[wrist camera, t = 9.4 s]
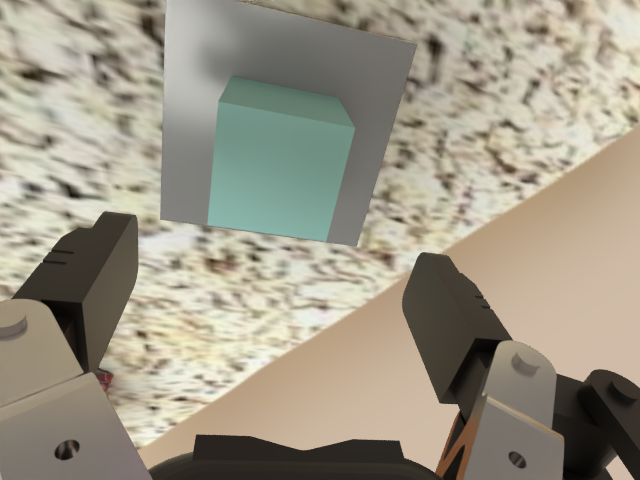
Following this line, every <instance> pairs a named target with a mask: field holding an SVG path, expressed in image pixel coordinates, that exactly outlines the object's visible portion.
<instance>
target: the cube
mask: <svg viewBox="0 0 640 480" xmlns="http://www.w3.org/2000/svg"><path fill="white" fill-rule="evenodd" d="M354 131H355V126H354V125H353V123H352V121H351V119H350V118H349V116H348V114H347V112H346V111H345V109H344V107H343V106H342V104H341V102H340V100H339V99H338V98H336V97H331V96H326V95H321V94H316V93H312V92H307V91H302V90H297V89H292V88H287V87H282V86H277V85H273V84H268V83H263V82H258V81H253V80H248V79H243V78H238V77H234V76H231V78H230V80H229V82H228V84H227V86H226V88H225V90H224V92H223V93H222V95H221V97H220V99H219V101H218V112H217V123H216V134H215V145H214V156H213V168H212V179H211V190H210V201H209V212H208V223H207V225H210V226H217V227H224V228H231V229H239V230H246V231H253V232H260V233H268V234H275V235H282V236H290V237H297V238H304V239H311V240H319V241H326V240H327V236H328V233H329V229H330V225H331V221H332V217H333V213H334V209H335V205H336V201H337V198H338V194H339V190H340V186H341V182H342V178H343V174H344V170H345V166H346V163H347V159H348V155H349V151H350V147H351V143H352V139H353V135H354Z"/></svg>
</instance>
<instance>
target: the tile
mask: <svg viewBox="0 0 640 480" xmlns="http://www.w3.org/2000/svg"><path fill="white" fill-rule="evenodd" d="M416 47H417V44H416V43H413V42H411V41H406V40H402V39H398V38H394V37H390V36H385V35H381V34H377V33H373V32H369V31H364V30H360V29H356V28H352V27H348V26H343V25H339V24H335V23H331V22H327V21H322V20H318V19H314V18H310V17H306V16H301V15H297V14H293V13H289V12H285V11H280V10H276V9H272V8H268V7H264V6H259V5H255V4H251V3H247V2H243V1H238V0H166V12H165V53H164V93H163V134H162V174H161V215H160V220H167V221H175V222H182V223H189V224H197V225H204V226H210V225H207V223H208V212H209V201H210V190H211V179H212V168H213V156H214V145H215V134H216V123H217V112H218V101H219V99H220V97H221V95H222V93H223V92H224V90H225V88H226V86H227V84H228V82H229V80H230V78H231V76H234V77H238V78H243V79H248V80H253V81H258V82H263V83H268V84H273V85H277V86H282V87H287V88H292V89H297V90H302V91H307V92H312V93H316V94H321V95H326V96H331V97H336V98H338V99H339V100H340V102H341V104H342V106H343V107H344V109H345V111H346V112H347V114H348V116H349V118H350V119H351V121H352V123H353V125H354V126H355V131H354V135H353V139H352V143H351V147H350V151H349V155H348V159H347V163H346V166H345V170H344V174H343V178H342V182H341V186H340V190H339V194H338V198H337V201H336V205H335V209H334V213H333V217H332V221H331V225H330V229H329V233H328V236H327V240H326V241H321V242H328V243H335V244H343V245H350V246H357V243H358V240H359V236H360V233H361V230H362V226H363V223H364V220H365V217H366V213H367V210H368V207H369V203H370V200H371V197H372V193H373V190H374V187H375V183H376V180H377V177H378V173H379V170H380V167H381V163H382V160H383V157H384V153H385V150H386V147H387V143H388V140H389V137H390V133H391V130H392V127H393V123H394V120H395V117H396V113H397V110H398V107H399V103H400V100H401V97H402V93H403V90H404V87H405V83H406V80H407V77H408V73H409V70H410V67H411V63H412V60H413V57H414V54H415V50H416ZM211 227H217V226H211ZM218 228H224V227H218ZM226 229H231V228H226ZM233 230H239V229H233ZM240 231H246V230H240ZM248 232H253V231H248ZM255 233H260V232H255ZM262 234H268V233H262ZM270 235H275V234H270ZM277 236H282V235H277ZM284 237H290V236H284ZM292 238H297V237H292ZM299 239H304V238H299ZM306 240H311V239H306ZM313 241H319V240H313Z"/></svg>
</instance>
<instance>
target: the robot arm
mask: <svg viewBox="0 0 640 480" xmlns="http://www.w3.org/2000/svg"><path fill="white" fill-rule="evenodd" d="M137 273H138V222H137V217H136V215H131V214H123V213H115V212H107V211H105V212H103V213H102V215H101V216H100V217H99V219H98V220H97V222H96V223H95V224H94V226H93V227H92V228H91V229H89V228H81V227H79V228H77V229H76V230H74V231H72V232H70V233H68V234H66V235H65V236H63V237H61V239H60V240H59V241H58V242H57V243H56V245H55V246H54V247H53V248H52V251H51V252H49V253H48V255H47V256H46V257H45V258H44V259H43V263H40V264H39V266H38V267H37V268H36V269H35V271H34V272H33V273H32V274H31V275H30V277H29V278H28V279H27V280H26V282H25V283H24V284H23V285H22V287H21V288H20V289H19V290H18V291H17V293H16V294H15V295H14V296H13V298H12V299H11V300H5V301H0V473H1V477H2V480H613V479H612V477H611V476H610V474H609V473H608V471H607V470H606V468H605V467H606V466H607V465H608V464H609V463H610V462H611V461H612V460H613V459H614V458H615V457H616V456H617V455H618V456H619V458H620V459H621V460H622V462H623V464H624V465H625V466H626V468H627V469H628V471H629V472H630V474H631V475H632V477H633V478H634V480H640V388H639V387H638V386H636V385H635V384H634V383H632V382H631V381H630V380H628V379H626V378H624V377H623V376H621V375H619V374H616V373H614V372H611V371H608V370H601V369H598V370H594V371H592V372H591V373H590V375H589V376H588V377H587V379H586V380H585V381H584V382H581V381H578V380H575V379H572V378H569V377H566V376H562V375H560V374H556V371H555V369H554V367H553V365H552V364H551V363H550V361H549V360H548V359H547V358H546V357H545V356H544V355H542V354H541V353H540V352H539V351H537V350H536V349H534V348H532V347H530V346H528V345H526V344H524V343H521V342H517V341H513V340H512V338H511V336H510V335H509V333H508V332H507V330H506V329H505V328H504V326H503V325H502V323H501V322H500V320H499V319H498V317H497V316H496V314H495V313H494V311H493V310H492V309H490V306H489V304H488V302H487V301H486V299H483V295H482V294H481V292H480V291H479V289H478V288H477V286H476V285H475V284H474V283H473V282H472V281H470V280H469V279H468V278H467V277H466V276H464V275H463V274H462V273H459V271H458V270H457V268H456V267H455V265H454V264H453V262H452V261H451V259H450V258H449V256H447V255H442V254H434V253H426V252H423V253H421V254H420V255H419V256H418V258H417V260H416V263H415V266H414V268H413V271H412V273H411V276H410V278H409V281H408V284H407V286H406V288H405V291H404V294H403V299H402V300H403V301H402V308H403V313H404V316H405V318H406V320H407V323H408V326H409V328H410V331H411V333H412V335H413V338H414V340H415V343H416V345H417V348H418V350H419V353H420V355H421V358H422V360H423V363H424V365H425V368H426V370H427V373H428V375H429V378H430V380H431V383H432V385H433V387H434V390H435V393H436V395H437V397H438V400H439V403H442V404H458V406H459V408H460V411H459V412H458V414H457V416H456V418H455V420H454V423H453V425H452V428H451V431H450V434H449V436H448V439H447V442H446V445H445V448H444V450H443V453H442V455H441V459H440V461H439V464H438V466H437V469H436V471H435V473H434V472H433V471H431V470H430V469H428V468H426V467H424V466H422V465H420V464H418V463H416V462H413V461H411V460H409V459H406V458H404V456H403V452H402V449H401V445H400V442H399V441H391V440H390V441H389V440H388V441H387V440H357V439H352V440H348V441H344V442H340V443H336V444H332V445H328V446H323V447H320V448H315V449H311V450H297V449H294V448H290V447H286V446H283V445H279V444H276V443H272V442H269V441H265V440H262V439H258V438H255V437H251V436H228V435H227V436H226V435H196V439H195V445H194V451H193V452H190V453H186V454H182V455H180V456H177V457H174V458H171V459H168V460H166V461H164V462H162V463H160V464H158V465H156V466H154V467H152V468H150V469H149V470H147V468H146V467H145V465H144V463H143V461H142V459H141V457H140V455H139V454H138V452H137V450H136V448H135V446H134V444H133V443H132V441H131V439H130V437H129V435H128V434H127V432H126V430H125V428H124V426H123V424H122V423H121V421H120V419H119V417H118V415H117V414H116V412H115V410H114V408H113V406H112V404H111V403H110V401H109V399H108V397H107V395H106V394H105V392H104V390H103V388H102V386H101V384H100V383H99V381H98V379H97V377H96V376H95V374H96V371H97V369H98V367H99V365H100V362H101V360H102V358H103V356H104V353H105V351H106V349H107V347H108V344H109V342H110V340H111V338H112V335H113V333H114V331H115V329H116V326H117V324H118V322H119V320H120V317H121V315H122V313H123V311H124V308H125V306H126V304H127V302H128V299H129V297H130V295H131V293H132V290H133V288H134V286H135V282H136V278H137Z"/></svg>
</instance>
